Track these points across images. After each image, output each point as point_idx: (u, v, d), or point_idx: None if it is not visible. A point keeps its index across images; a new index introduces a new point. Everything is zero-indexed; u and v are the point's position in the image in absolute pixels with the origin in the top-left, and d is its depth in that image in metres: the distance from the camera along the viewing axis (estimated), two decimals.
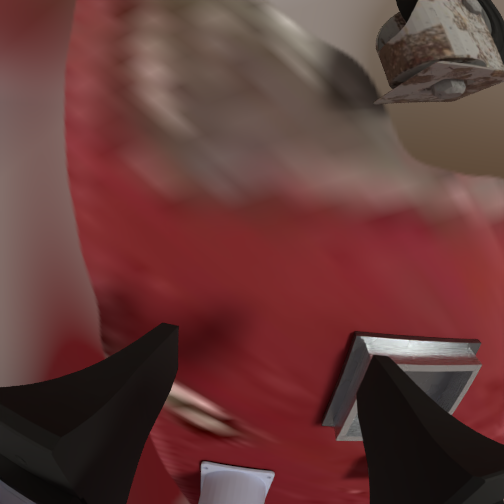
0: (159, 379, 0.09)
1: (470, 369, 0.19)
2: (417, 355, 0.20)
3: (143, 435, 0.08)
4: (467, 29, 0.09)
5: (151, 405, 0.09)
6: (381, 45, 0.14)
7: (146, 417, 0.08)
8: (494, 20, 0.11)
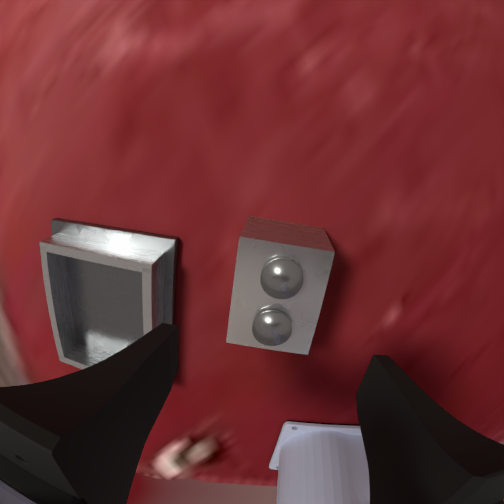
0: (159, 379, 0.09)
1: (45, 258, 0.18)
2: None
3: (143, 435, 0.08)
4: None
5: (151, 405, 0.09)
6: None
7: (146, 417, 0.08)
8: None
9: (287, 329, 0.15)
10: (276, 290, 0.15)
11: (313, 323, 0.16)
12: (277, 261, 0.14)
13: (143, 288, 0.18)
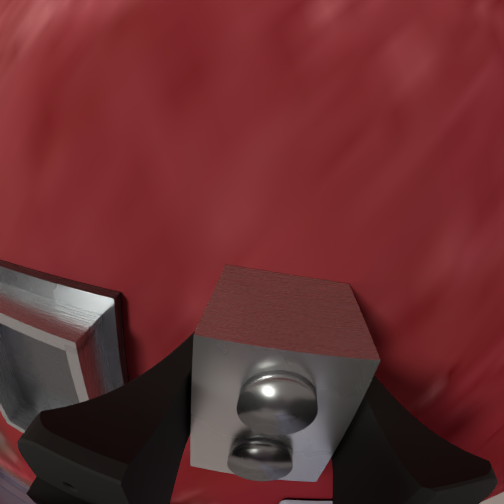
0: None
1: None
2: None
3: (182, 445, 0.08)
4: None
5: (190, 415, 0.09)
6: None
7: (185, 427, 0.08)
8: None
9: (285, 466, 0.08)
10: (267, 424, 0.07)
11: (328, 453, 0.08)
12: (268, 385, 0.07)
13: (71, 371, 0.10)
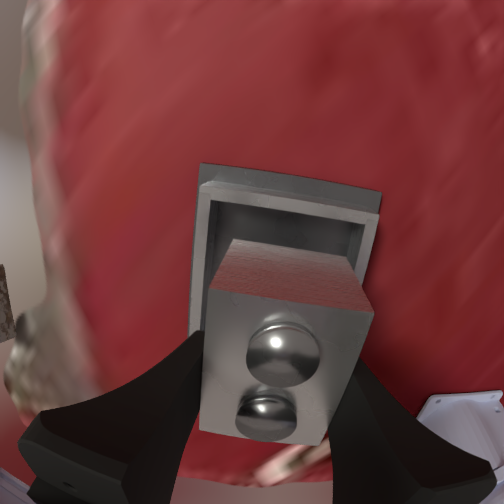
0: (197, 388, 0.09)
1: (206, 209, 0.15)
2: None
3: (182, 445, 0.08)
4: None
5: (190, 415, 0.09)
6: None
7: (185, 427, 0.08)
8: None
9: (290, 424, 0.09)
10: (273, 375, 0.08)
11: (329, 411, 0.09)
12: (275, 333, 0.08)
13: (362, 245, 0.15)
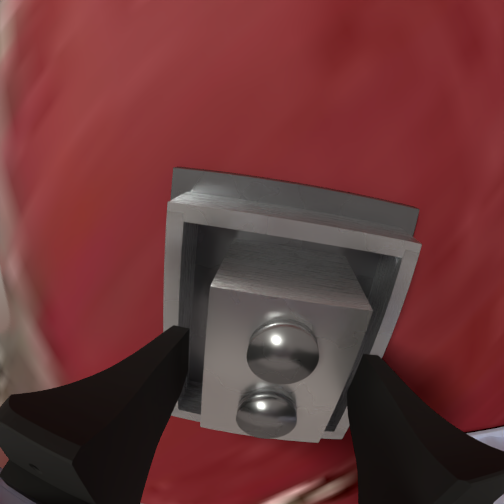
0: (171, 382, 0.09)
1: (178, 236, 0.10)
2: None
3: (155, 439, 0.08)
4: None
5: (163, 408, 0.09)
6: None
7: (158, 420, 0.08)
8: None
9: (290, 420, 0.09)
10: (273, 372, 0.09)
11: (329, 409, 0.10)
12: (275, 330, 0.08)
13: (396, 285, 0.10)
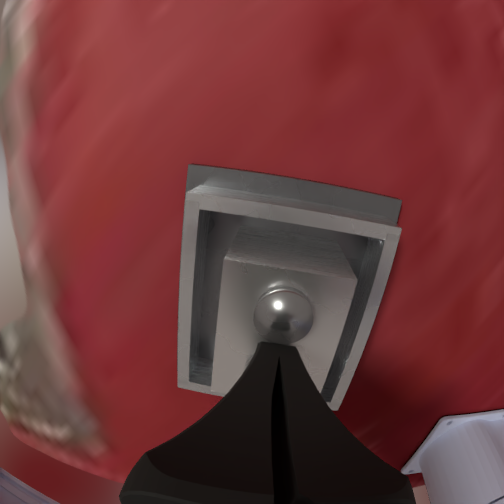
0: None
1: (194, 221, 0.12)
2: None
3: None
4: None
5: None
6: None
7: None
8: None
9: None
10: (275, 333, 0.11)
11: (323, 371, 0.12)
12: (277, 294, 0.10)
13: (380, 264, 0.12)
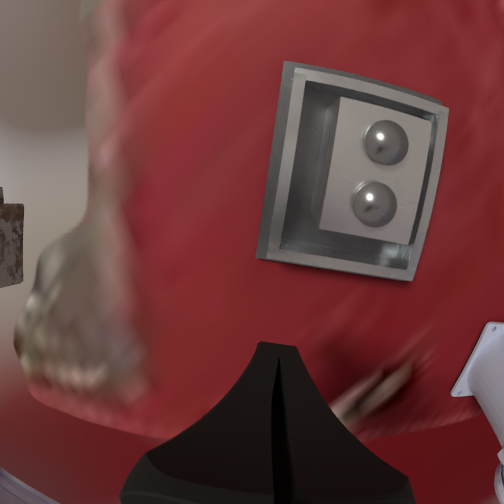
0: None
1: (301, 88, 0.14)
2: None
3: None
4: None
5: None
6: None
7: None
8: None
9: (392, 204, 0.13)
10: (382, 154, 0.12)
11: (414, 203, 0.13)
12: (383, 121, 0.12)
13: (437, 133, 0.14)
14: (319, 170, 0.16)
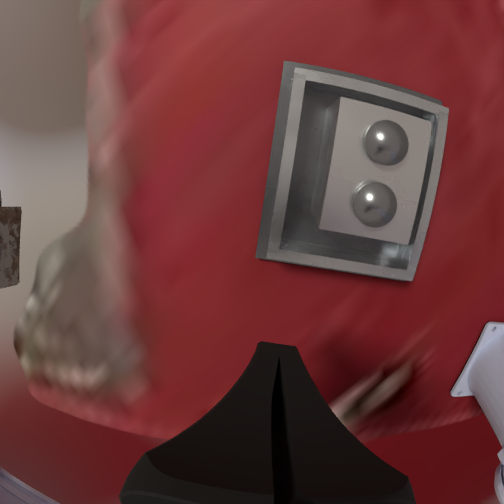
0: None
1: (301, 88, 0.14)
2: None
3: None
4: None
5: None
6: None
7: None
8: None
9: (392, 204, 0.13)
10: (382, 154, 0.12)
11: (414, 203, 0.13)
12: (383, 121, 0.12)
13: (437, 133, 0.14)
14: (319, 170, 0.16)
